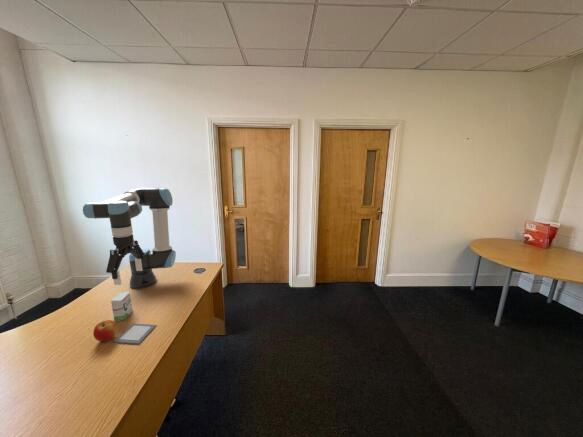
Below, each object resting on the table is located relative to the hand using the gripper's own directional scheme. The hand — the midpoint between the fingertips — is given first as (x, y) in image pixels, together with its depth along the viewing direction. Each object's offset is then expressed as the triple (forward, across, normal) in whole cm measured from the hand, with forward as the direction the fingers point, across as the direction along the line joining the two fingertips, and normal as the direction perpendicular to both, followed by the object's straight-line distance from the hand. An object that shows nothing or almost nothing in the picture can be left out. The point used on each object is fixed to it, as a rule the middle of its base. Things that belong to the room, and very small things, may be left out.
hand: (129, 277), depth 107 cm
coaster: (+27, +6, +4) cm, 28 cm away
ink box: (+27, -6, -12) cm, 30 cm away
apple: (+27, +10, -7) cm, 29 cm away
